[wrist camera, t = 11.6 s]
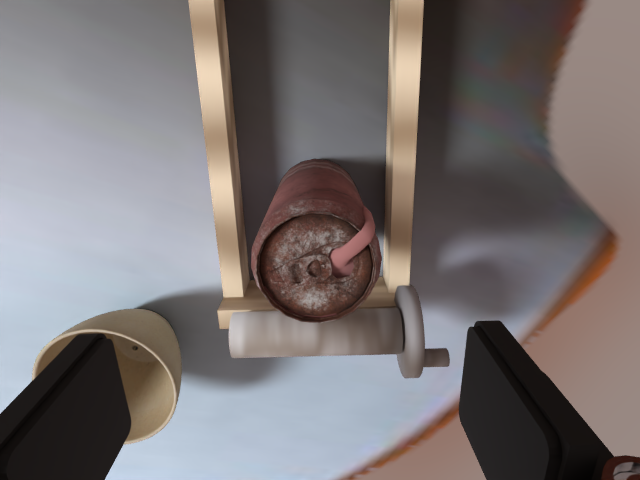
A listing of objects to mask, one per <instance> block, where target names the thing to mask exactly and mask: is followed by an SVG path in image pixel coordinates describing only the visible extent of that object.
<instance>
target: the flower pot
mask: <svg viewBox="0 0 640 480" xmlns="http://www.w3.org/2000/svg"><path fill="white" fill-rule="evenodd" d="M92 333H102V334H104V335H105V336H106V338H107V339H111V340H112V341H113V344H114V348H115V353H116V357H117V361H118V365H119V370H120V374H121V378H122V382H123V387H124V391H125V395H126V399H127V403H128V408H129V412H130V416H131V429H130V433H129V435H128V437H127V439H126V441H125V442H124V444H131V443H135V442H139V441H142V440H145V439H147V438H150V437H152V436H153V435H155V434H157V433H158V432H159V431H161V430H162V429H163V428H164V427H165V426H166V425H167V423H168V422H169V421H170V419H171V418H172V416H173V414H174V411H175V408H176V404H177V401H178V397H179V392H180V385H181V374H182V363H181V353H180V348H179V344H178V340H177V337H176V335H175V333H174V331H173V329H172V327H171V326H170V324H169V323H168V322H167V320H165V319H164V318H163V317H162V316H161V315H159V314H157V313H155V312H153V311H150V310H145V309H124V310H117V311H112V312H108V313H105V314H101V315H98V316H96V317H93V318H90V319H88V320H86V321H83V322H81V323H79V324H77V325H75V326H74V327H72V328H70V329H68V330H67V331H65V332H63V333H62V334H60V335H59V336H57V337H56V338H55V339H53V340H52V341H51V342H49V343H48V344H47V345H46V346H45V347H44V348H43V349H42V350H41V352H40V353H39V355H38V356H37V358H36V361H35V363H34V367H33V373H32V381H33V380H34V379H35V378H36V377H37V376H38V375H39V374H40V373H41V372H42V371H43V369H44V368H45V367H46V366H47V365H48V364H49V363H50V362H51V361H52V360H53V359H54V358H55V357H56V356H57V355H58V354H59V353H60V352H61V351H62V350H63V349H64V348H65V347H66V346H67V345H68V344H69V343H70V342H71V341H72V340H73V339H74V338H75V337H76V336H77V335H78V334H92ZM136 347H137V348H138V349H137V350H136Z"/></svg>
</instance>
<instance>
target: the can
mask: <svg viewBox="0 0 640 480" xmlns="http://www.w3.org/2000/svg"><path fill="white" fill-rule="evenodd" d="M381 261H382V257H381V252H380V247H379V241H378V238H377V236H376V233H375V223H374V220H373V216H372V213H371V212H370V211H369V210H368V209H367V208H366V207H365V206H364V205H363V202H362V200H361V198H360V195H359V193H358V190H357V188H356V186H355V184H354V182H353V180H352V178H351V177H350V175H349V173H347V172H346V171H345V170H344V169H343V168H342V167H341V166H340V165H338V164H335V163H333V162H331V161H328V160H322V159H311V160H307V161H302V162H300V163H299V164H297V165H295V166H294V167H292V168H290V170H289V171H288V172H287V173H286V174H285V175H284V177H283V178H282V180H281V182H280V184H279V186H278V188H277V191H276V193H275V195H274V197H273V200H272V202H271V204H270V206H269V209H268V211H267V213H266V215H265V217H264V220H263V222H262V224H261V226H260V229H259V231H258V233H257V236H256V238H255V241H254V243H253V246H252V254H251V268H252V272H253V275H254V278H255V281H256V285H257V286H258V288H259V289H260V290H261V292H262V293H263V295H264V296H265V297H266V299H267V300H268V302H269V303H270V304H271V305H272V306H273V307H274V308H276V309H277V310H278V311H280V312H281V313H282V314H283V315H285V316H287V317H290V318H293V319H295V320H298V321H301V322H308V323H325V322H330V321H335V320H339V319H340V318H342V317H344V316H346V315H348V314H350V313H352V312H354V311H355V310H356V309H357V308H358V307H359V306H360V305H361V304H362V303H363V302H364V301H365V300H366V299H367V297H368V296H369V295H370V294H371V292H372V290H373V288H374V286H375V284H376V282H377V280H378V278H379V274H380V267H381Z"/></svg>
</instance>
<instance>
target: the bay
mask: <svg viewBox="0 0 640 480" xmlns="http://www.w3.org/2000/svg"><path fill="white" fill-rule="evenodd" d="M423 6H424V0H391V2H390V38H389V75H388V112H387V148H386V185H385V221H384V258H383V277H379V278H378V280H377V282H376V284H375V286H374V288H373V290H372V292H371V294H370V295H369V296H368V297H367V299H366V300H365V301H364V302H363V303H362V304H361V305H360V306H359V307H358V308H357V309H356V310H355V311H354V312H352V313H350V314H348V315H346V316H344V317H342V318H340V319H339V320H335V321H330V322H325V323H308V322H301V321H298V320H295V319H293V318H290V317H287V316H285V315H283V314H282V313H281V312H280V311H278V310H277V309H276V308H274V307H273V306H272V305H271V304H270V303H269V302H268V300H267V299H266V297H265V296H264V295H263V293H262V292H261V290H260V289H259V288H258V286H257V285H256V281H255V280H250V277H249V267H248V256H247V245H246V234H245V223H244V213H243V202H242V191H241V180H240V169H239V159H238V148H237V137H236V126H235V115H234V105H233V94H232V83H231V72H230V61H229V50H228V40H227V29H226V18H225V7H224V0H189V8H190V17H191V25H192V34H193V42H194V51H195V59H196V68H197V76H198V85H199V93H200V102H201V110H202V119H203V127H204V136H205V144H206V153H207V161H208V170H209V178H210V186H211V195H212V203H213V212H214V220H215V229H216V237H217V246H218V254H219V263H220V271H221V280H222V288H223V297H224V298H223V300H222V302H221V304H220V306H219V308H218V310H217V312H218V320H219V328H220V329H229V350H230V354H231V357H232V358H258V357H299V356H340V355H381V354H397V359H398V364H399V368H400V371H401V373H402V375H403V377H404V378H419V377H420V376H421V374H422V371H423V367H448V366H449V363H450V359H449V353H448V350H447V349H446V348H438V349H425V337H424V324H423V316H422V310H421V305H420V301H419V297H418V294H417V292H416V289H415V288H414V287H413V286H412V285H409V280H410V260H411V241H412V221H413V202H414V182H415V163H416V143H417V124H418V104H419V85H420V65H421V46H422V26H423Z"/></svg>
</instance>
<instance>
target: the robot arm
mask: <svg viewBox="0 0 640 480" xmlns="http://www.w3.org/2000/svg"><path fill="white" fill-rule="evenodd" d="M459 416H460V421H461V424H462V426H463V428H464V430H465V432H466V435H467V437H468V439H469V441H470V444H471V446H472V448H473V450H474V453H475V455H476V457H477V459H478V462H479V464H480V466H481V468H482V471H483V473H484V475H485V477H486V479H487V480H640V457H634V456H627V455H624V456H615V457H614V456H613V455H612V453H611V452H610V451H609V450H608V449H607V447H606V446H605V445H604V444H603V443H602V441H601V440H600V439H599V438H598V437H597V435H596V434H595V433H594V432H593V430H592V429H591V428H590V427H589V426H588V424H587V423H586V422H585V421H584V420H583V418H582V417H581V416H580V415H579V414H578V412H577V411H576V410H575V409H574V408H573V406H572V405H571V404H570V403H569V401H568V400H567V399H566V398H565V397H564V395H563V394H562V393H561V392H560V391H559V389H558V388H557V387H556V386H555V384H554V383H553V382H552V381H551V380H550V378H549V377H548V376H547V375H546V374H545V373H543V372H542V371H541V370H540V369H539V367H538V366H537V365H536V364H535V363H534V361H533V360H532V359H531V358H530V357H529V355H528V354H527V353H526V352H525V350H524V349H523V348H522V347H521V345H520V344H519V343H518V342H517V341H516V339H515V338H514V337H513V336H512V334H511V333H510V332H509V331H508V330H507V328H506V327H505V326H504V325H503V323H502V322H500V321H477V322H476V323H475V325H474V327H469V329H468V332H467V341H466V350H465V358H464V367H463V376H462V385H461V394H460V402H459ZM130 429H131V416H130V412H129V408H128V403H127V399H126V395H125V391H124V387H123V382H122V378H121V374H120V370H119V365H118V361H117V357H116V353H115V348H114V344H113V341H112V340H111V339H107V338H106V336H105V335H104V334H102V333H92V334H78V335H77V336H76V337H75V338H74V339H73V340H72V341H71V342H70V343H69V344H68V345H67V346H66V347H65V348H64V349H63V350H62V351H61V352H60V353H59V354H58V355H57V356H56V357H55V358H54V359H53V360H52V361H51V362H50V363H49V364H48V365H47V366H46V367H45V368H44V369H43V371H42V372H41V373H40V374H39V375H38V376H37V377H36V378H35V379H34V380H33V381H32V382H31V383H30V384H29V385H28V386H27V387H26V388H25V389H24V390H23V391H22V392H21V393H20V394H19V395H18V396H17V397H16V398H15V399H14V400H13V401H12V402H11V403H10V405H9V406H8V407H7V408H6V409H5V410H4V411H3V412H2V413H1V414H0V480H105V478H106V476H107V474H108V472H109V470H110V469H111V467H112V465H113V463H114V461H115V459H116V457H117V455H118V454H119V452H120V450H121V448H122V446H123V444H124V442H125V441H126V439H127V437H128V435H129V433H130Z"/></svg>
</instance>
